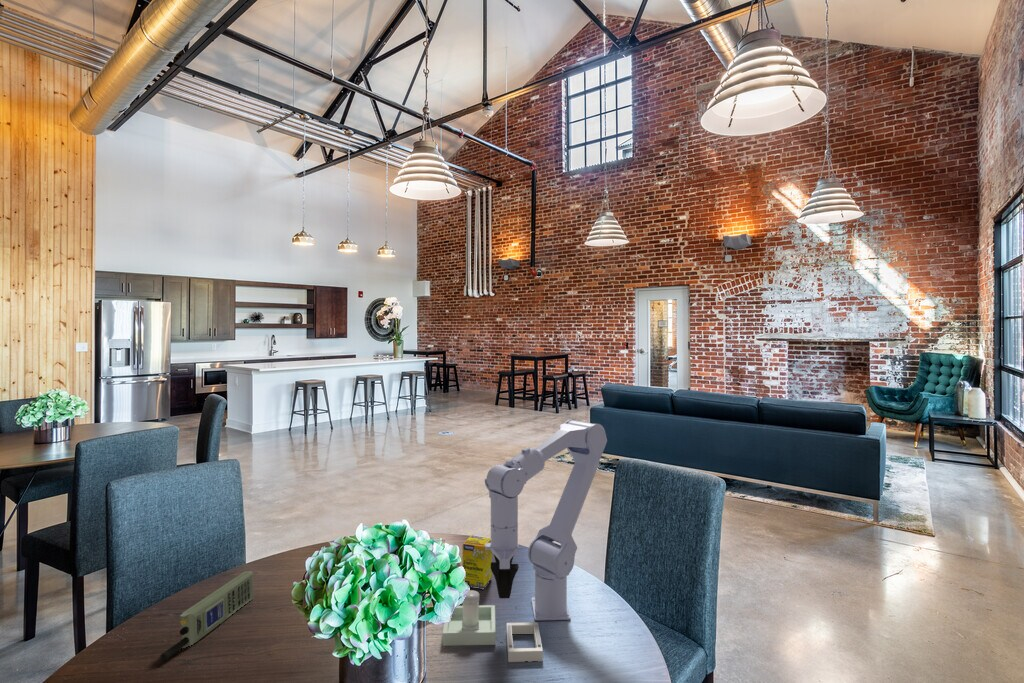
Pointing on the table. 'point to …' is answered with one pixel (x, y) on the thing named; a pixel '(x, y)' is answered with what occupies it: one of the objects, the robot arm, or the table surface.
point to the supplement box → (477, 561)
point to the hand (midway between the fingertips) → (504, 588)
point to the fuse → (471, 611)
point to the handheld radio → (213, 611)
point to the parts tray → (473, 637)
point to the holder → (524, 653)
